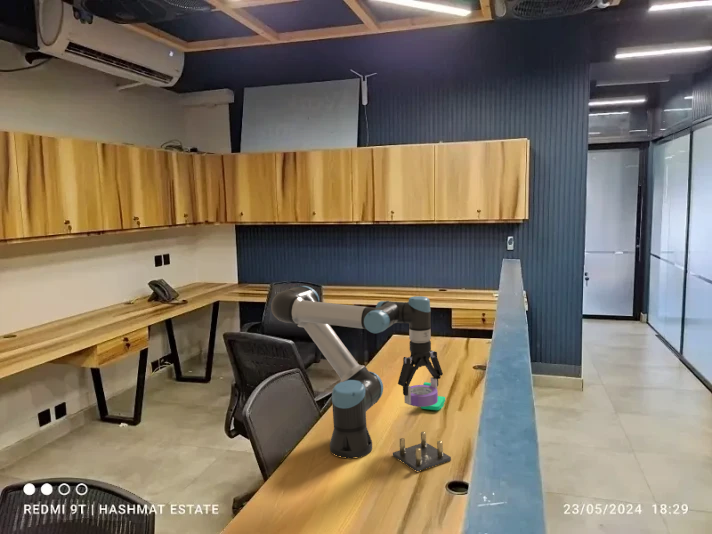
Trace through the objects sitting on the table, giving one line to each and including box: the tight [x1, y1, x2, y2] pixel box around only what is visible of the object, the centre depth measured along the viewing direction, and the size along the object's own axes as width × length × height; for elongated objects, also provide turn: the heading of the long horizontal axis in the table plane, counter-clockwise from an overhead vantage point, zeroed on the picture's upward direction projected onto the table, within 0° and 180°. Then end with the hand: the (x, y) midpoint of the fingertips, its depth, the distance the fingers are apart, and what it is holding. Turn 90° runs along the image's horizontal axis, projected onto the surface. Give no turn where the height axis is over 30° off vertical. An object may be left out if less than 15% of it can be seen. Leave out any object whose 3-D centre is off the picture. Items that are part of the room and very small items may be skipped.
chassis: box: [392, 431, 452, 472], centre depth 180 cm, size 14×14×6 cm
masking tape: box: [410, 384, 439, 408], centre depth 190 cm, size 12×12×4 cm
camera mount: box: [420, 381, 446, 411], centre depth 225 cm, size 12×8×10 cm, turn 156°
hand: (421, 399), depth 191 cm, fingers closed on masking tape, 12 cm apart
